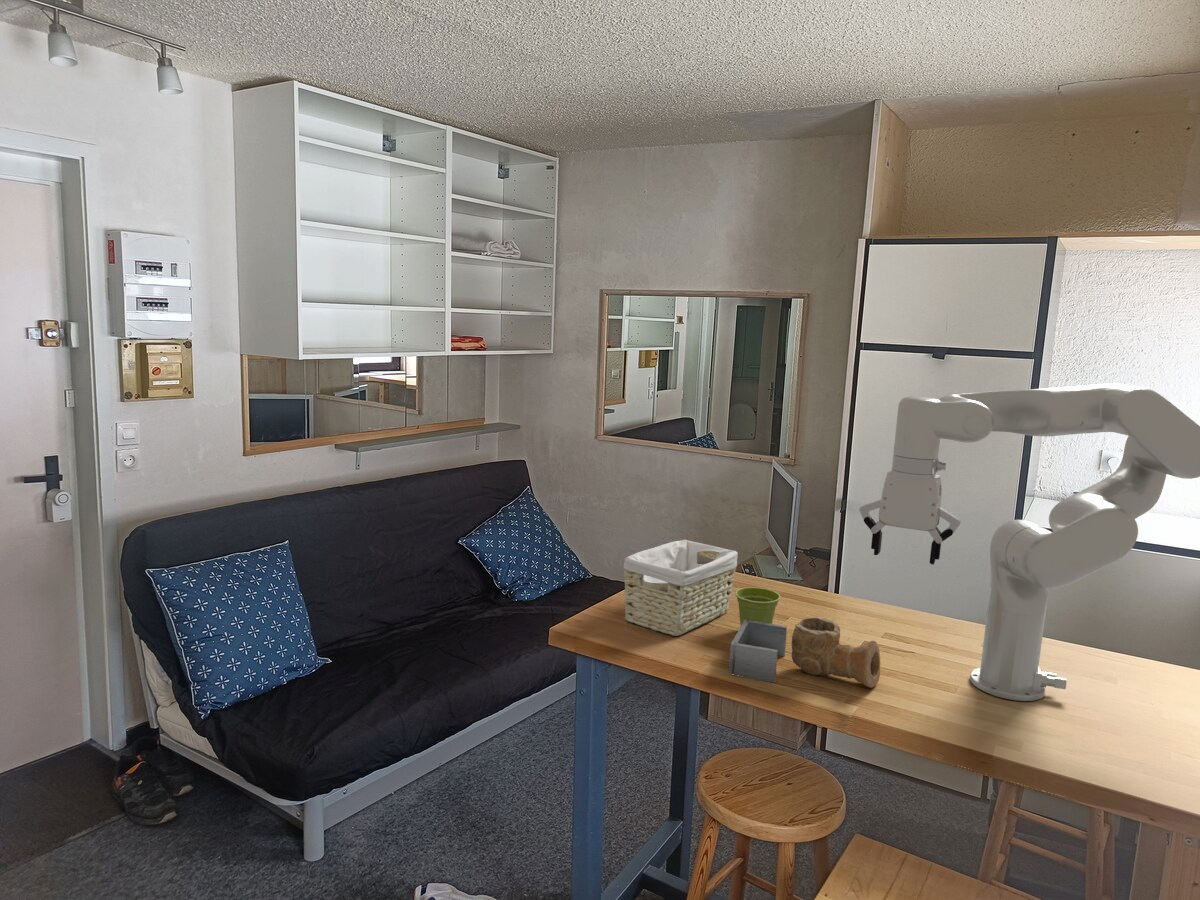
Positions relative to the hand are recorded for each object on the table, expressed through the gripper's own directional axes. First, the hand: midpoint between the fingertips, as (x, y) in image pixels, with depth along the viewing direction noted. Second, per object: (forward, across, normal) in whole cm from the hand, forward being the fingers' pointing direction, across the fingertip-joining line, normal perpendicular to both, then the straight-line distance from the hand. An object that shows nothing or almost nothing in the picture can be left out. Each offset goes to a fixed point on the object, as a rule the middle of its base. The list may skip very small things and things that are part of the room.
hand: (904, 557), depth 152 cm
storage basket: (+24, +46, -9) cm, 53 cm away
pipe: (+24, +10, +4) cm, 27 cm away
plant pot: (+24, +29, -9) cm, 39 cm away
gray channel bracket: (+24, +24, +6) cm, 35 cm away
